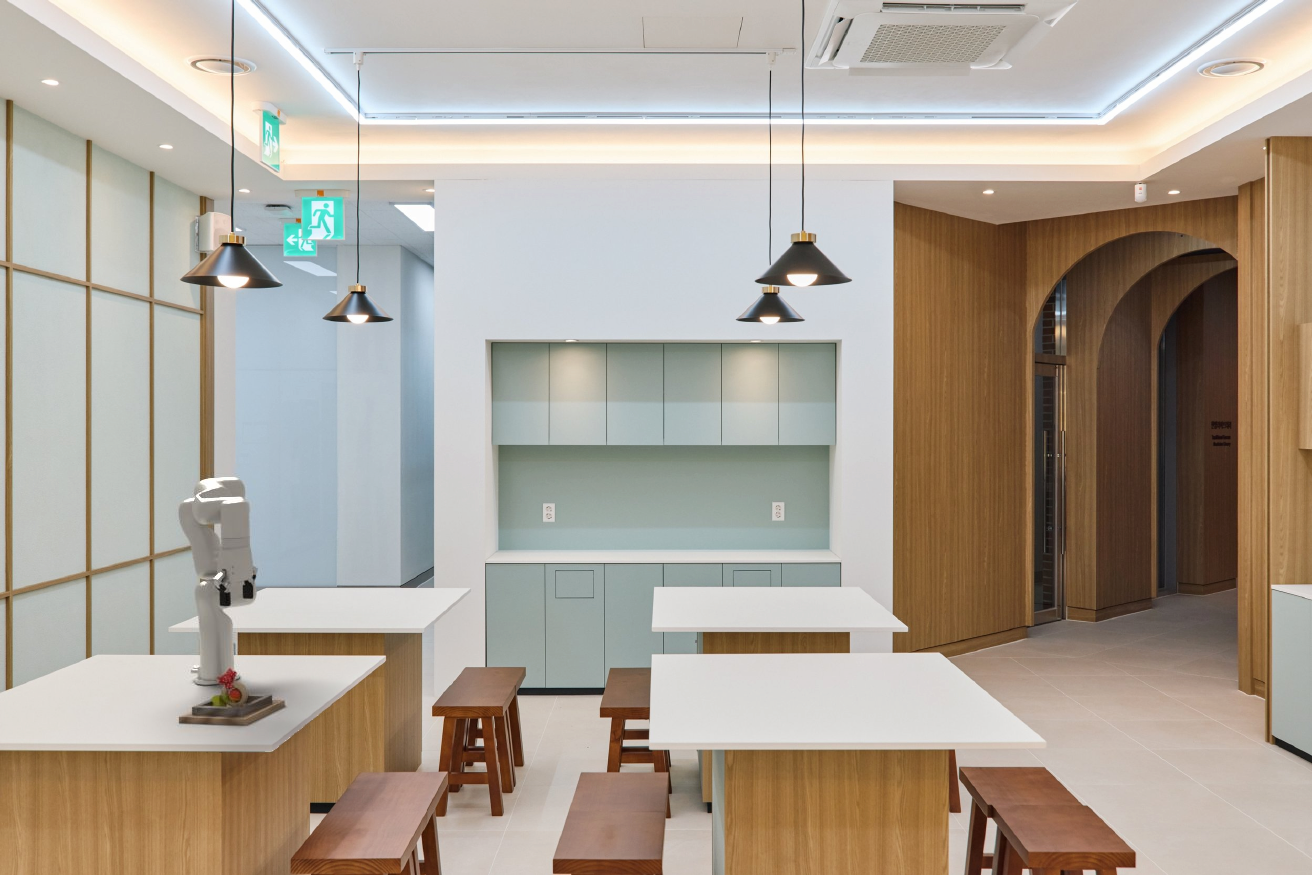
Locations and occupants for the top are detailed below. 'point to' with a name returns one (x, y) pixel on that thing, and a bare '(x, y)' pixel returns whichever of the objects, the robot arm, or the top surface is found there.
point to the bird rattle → (236, 694)
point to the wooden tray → (233, 711)
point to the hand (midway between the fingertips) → (236, 602)
